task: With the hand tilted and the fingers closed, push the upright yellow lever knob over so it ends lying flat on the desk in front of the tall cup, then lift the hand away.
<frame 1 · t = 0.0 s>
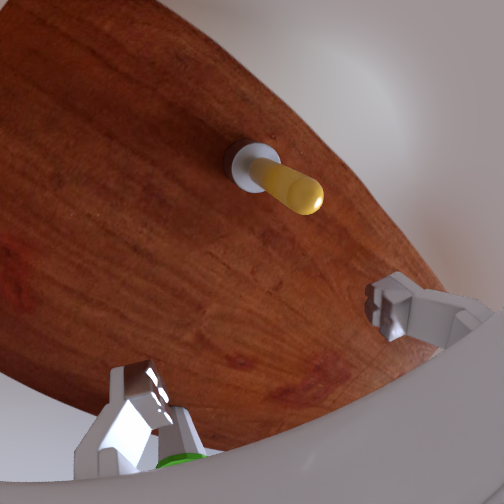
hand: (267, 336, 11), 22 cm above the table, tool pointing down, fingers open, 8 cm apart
yellow lever knob: (245, 162, 31), on the table
cup: (174, 414, 43), on the table
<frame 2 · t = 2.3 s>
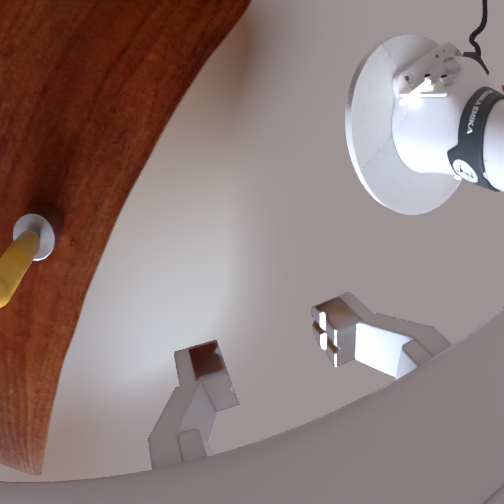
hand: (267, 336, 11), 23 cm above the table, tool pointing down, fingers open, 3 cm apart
yellow lever knob: (43, 224, 28), on the table
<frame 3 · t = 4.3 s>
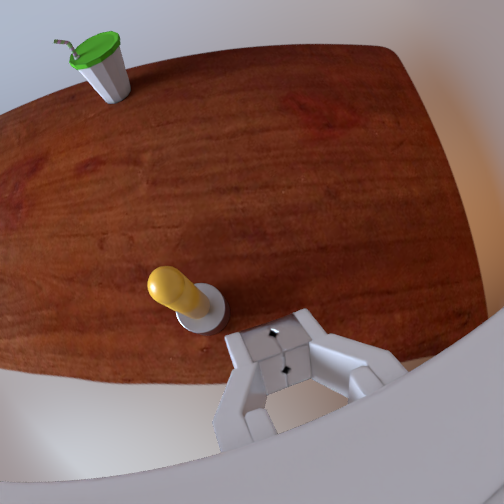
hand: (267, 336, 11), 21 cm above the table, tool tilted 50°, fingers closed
yellow lever knob: (207, 312, 32), on the table
cup: (118, 94, 44), on the table
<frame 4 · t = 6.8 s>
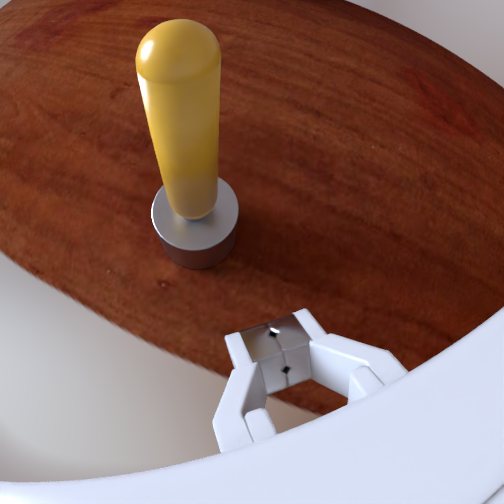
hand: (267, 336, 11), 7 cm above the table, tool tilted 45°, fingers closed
yellow lever knob: (198, 233, 20), on the table
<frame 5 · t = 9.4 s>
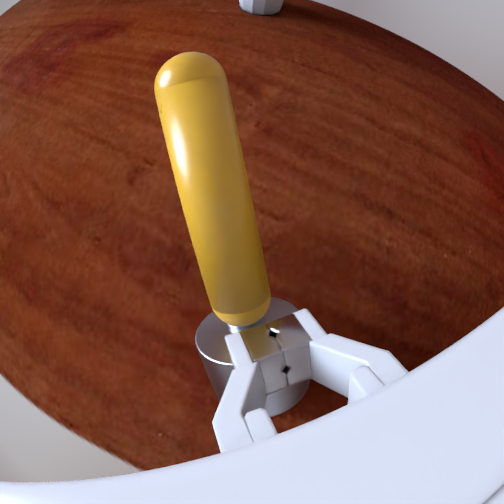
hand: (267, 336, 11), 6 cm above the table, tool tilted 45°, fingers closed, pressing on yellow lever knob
yellow lever knob: (262, 381, 15), point 2 cm above the table, tilted 49°, touching gripper
cup: (260, 8, 29), on the table
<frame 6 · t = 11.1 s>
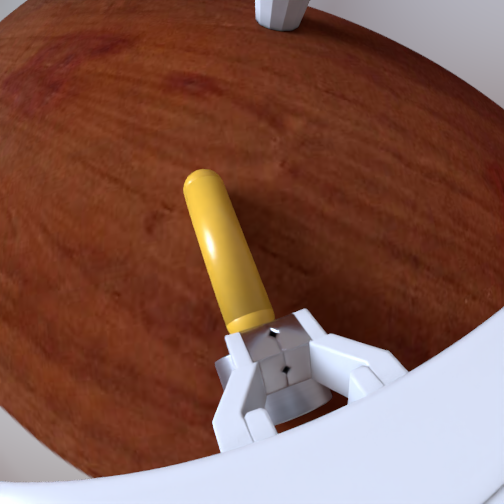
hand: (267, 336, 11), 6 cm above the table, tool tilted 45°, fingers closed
yellow lever knob: (286, 415, 14), point 3 cm above the table, tilted 97°
cup: (277, 22, 28), on the table
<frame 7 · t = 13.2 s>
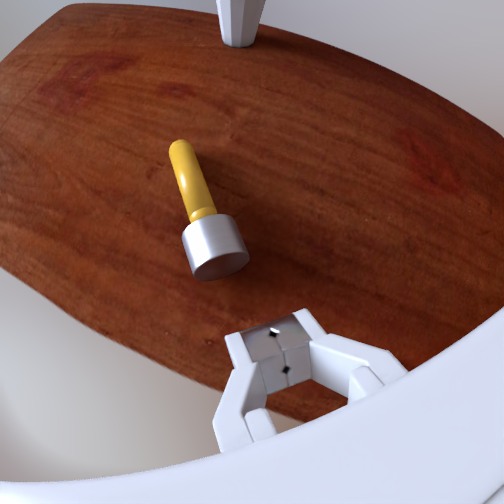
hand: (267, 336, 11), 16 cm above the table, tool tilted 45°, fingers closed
yellow lever knob: (222, 267, 25), point 3 cm above the table, tilted 97°
cup: (238, 40, 39), on the table
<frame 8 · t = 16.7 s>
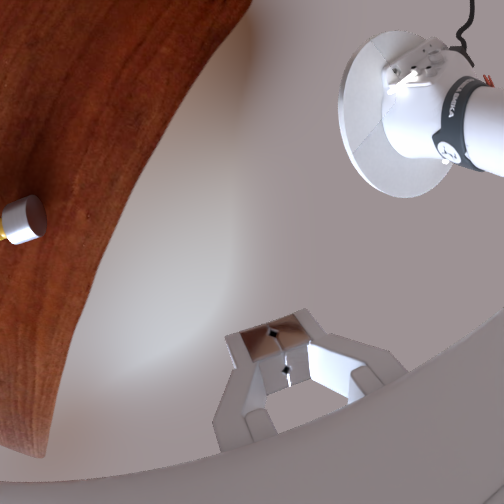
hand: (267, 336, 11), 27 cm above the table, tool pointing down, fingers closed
yellow lever knob: (36, 215, 28), point 3 cm above the table, tilted 97°
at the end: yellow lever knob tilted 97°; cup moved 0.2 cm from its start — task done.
